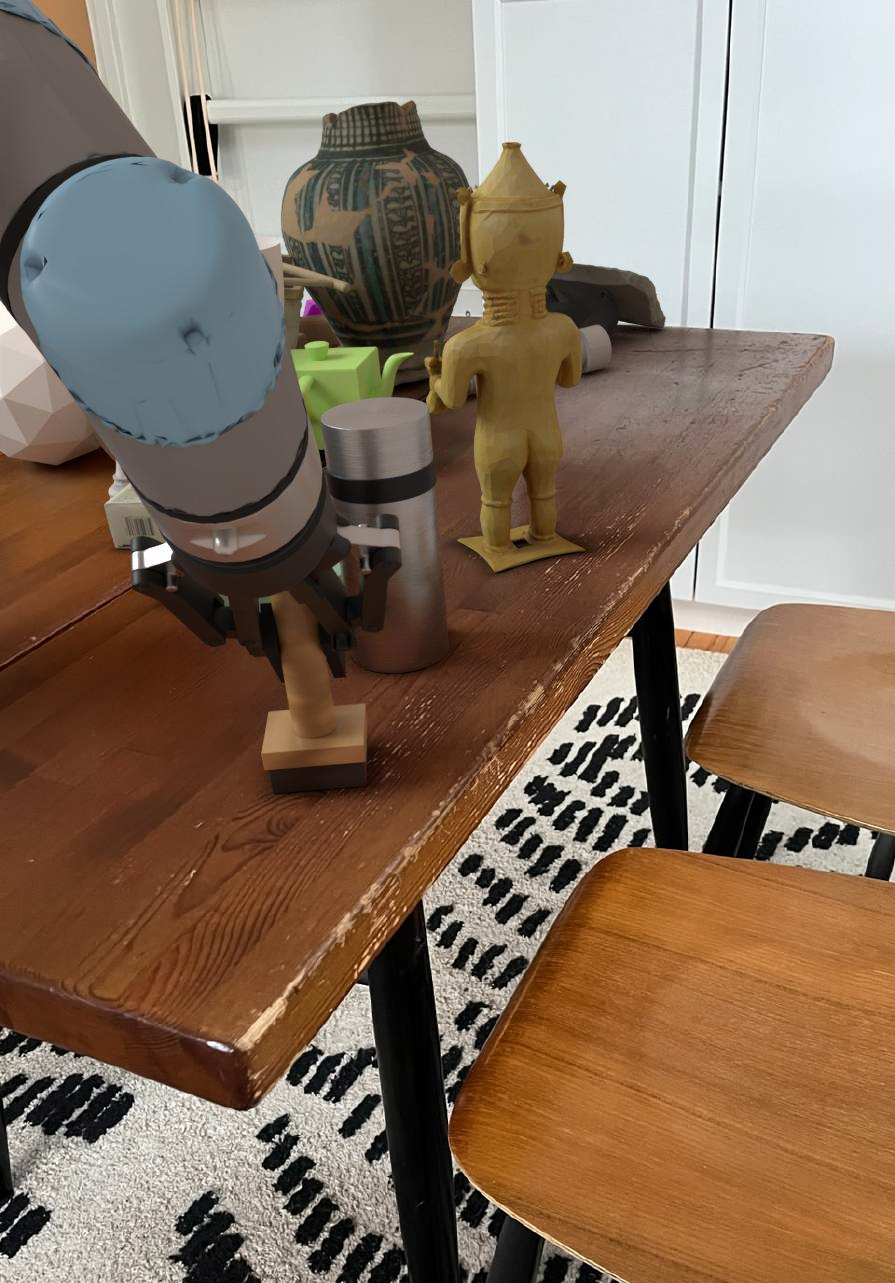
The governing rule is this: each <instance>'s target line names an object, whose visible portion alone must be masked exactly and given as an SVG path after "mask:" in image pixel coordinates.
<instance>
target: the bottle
mask: <svg viewBox="0 0 895 1283" xmlns="http://www.w3.org/2000/svg"><path fill="white" fill-rule="evenodd" d="M430 414H431V413H429V407H428V405H427V403H425V402H424V401H422V400H418V399H415V398H409V397H398V396H397V397H396V396H391V397H383V398H370V399H363V400H357V401H352V402H348V403H345V404H341V405H338V406H336V407H333V408H331V409H329V410H327V411H326V412H324V413H323V414H322V416H321V427H322V435H323V442H324V450H323V451H324V456H325V463H326V465H325V477H326V481H327V485H328V488H329V492H330V495H331V499H332V503H333V506H334V508H335V509H337V510H339V511H341V512H342V513H343V514H345V515H346V517H347V518H348V520H349V523H350V525H352V526H359V525H360V524H367V525H369V524H370V523H371V521H372V520H373V519H374V518H375V517H377V516H379V515H382V514H393V515H396V516H397V517H398V519H399V531H400V532H399V533H400V545H401V557H402V566H401V568H400V569H399V570H398V571H397V572H396V573H395V574H394V575H393V576H392V577H391V578H390V579H389V580H388V588H387V598H386V609H385V620H384V628H383V630H381V631H379V632H375V633H371V632H365V631H363V630H362V626H361V627H358V628H357V639H358V645H357V647H356V648H353V649H352V650H350V651H351V657H352V660H353V662H354V663H355V664H356V665H358V666H359V667H361V668H362V669H364V670H366V671H367V670H368V671H371V672H376V673H380V674H381V673H382V674H401V673H409V672H415V671H420V670H422V669H423V670H424V669H426V668H428V667H431V666H433V665H435V664H437V663H438V662H440V661H441V660H442V659H444V658H445V656H446V655H447V654H448V652H449V648H450V641H449V629H448V617H447V606H446V596H445V594H446V593H445V584H444V583H445V582H444V570H443V569H444V568H443V558H442V548H441V546H442V544H441V534H440V522H439V511H438V498H437V488H436V486H437V485H436V484H437V468H436V457H435V455H434V451H433V439H432V438H433V437H432V428H431V427H432V426H431V415H430ZM340 569H341V577H342V583H343V584H344V586H345V587H346V589H347V590H348V592H349V594H350V596H352V595H357V594H359V573H360V562H356V561H355V560H354V559H353V554H352V553H350V552H349V554H348V555H347V557H345V558H344V559H343V560H342V561H340Z"/></svg>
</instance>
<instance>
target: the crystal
mask: <svg viewBox="0 0 895 1283" xmlns="http://www.w3.org/2000/svg"><path fill="white" fill-rule="evenodd" d="M303 309H304V310H303V313H302V316H305V317H306V316H313V315H323V314H322V312H321V310H320V309H319V308H318V306H317V305H316V303H315V302H314V301H313V299H312V298H310V299H306V301H305V305H304V308H303Z"/></svg>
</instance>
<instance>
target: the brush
mask: <svg viewBox="0 0 895 1283" xmlns="http://www.w3.org/2000/svg"><path fill="white" fill-rule="evenodd" d="M270 598H271V603H272V609H273V615H274V620H275V626H276V632H277V638H278V644H279V650H280V655H281V662H282V668H283V674H284V680H285V683H284V686H285V691H286V698H287V704H288V708H289V709H283V710H272V711H268V714H267V719H266V724H265V725H266V726H265V729H264V730H265V731H264V737H263V740H262V741H263V742H262V748H261V754H260V755H261V760H262V764H263V770H264V771H268V774H269V775H268V776H269V780H270V787H271V791H272V794H274V795H276V794H285V793H287V794H288V793H296V792H309V791H323V790H333V789H334V790H335V789H344V788H345V789H347V788H357V787H358V788H359V787H366V786H367V771H368V713H367V712H368V711H367V705H366V703H365V702H363V703H355V704H353V703H352V704H342V705H335V704H334V700H333V693H332V686H331V680H330V673H329V665H328V662H327V658H326V656H325V655H324V653H323V650H322V648H321V645H320V636H319V621H318V620H317V618H316V617H315V616H314V615H313V613H312V612H311V611H310V609H309V608H308V607H307V606H306V604H298V603H297V602H296V600H295V599H294V598H293V597H292V595H291V594H290V593H289V592H288V591H283V592H281V593H278V594H275V595H272V596H270Z"/></svg>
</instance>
